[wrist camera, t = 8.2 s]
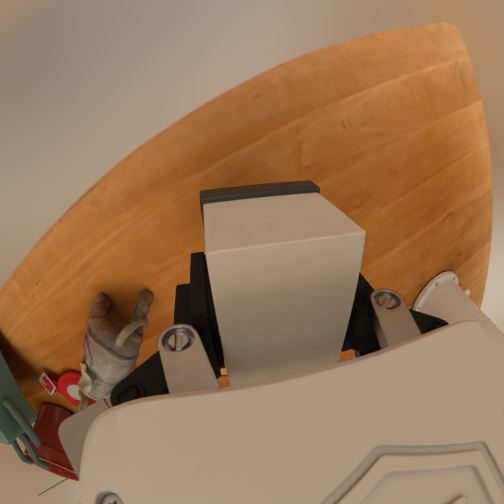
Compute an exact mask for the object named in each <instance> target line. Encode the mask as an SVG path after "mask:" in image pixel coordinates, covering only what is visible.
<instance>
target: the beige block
mask: <svg viewBox="0 0 504 504" xmlns="http://www.w3.org/2000/svg"><path fill="white" fill-rule="evenodd" d="M319 191H320V188H319V186H317V185H316V184H314V183H313V182H312V181H294V182H281V183H269V184H258V185H247V186H238V187H229V188H220V189H212V190H204V191H200V206H201V213H202V221H203V228H204V236H205V254H206V261H207V267H208V273H209V279H210V285H211V290H212V296H213V302H214V307H215V313H216V318H217V323H218V328H219V334H220V339H221V344H222V349H223V353H224V358H225V363H226V368H227V372H228V377H229V381H230V386H235V385H242V384H248V383H254V382H259V381H265V380H270V379H275V378H280V377H284V376H289V375H293V374H298V373H302V372H306V371H310V370H314V369H318V368H322V367H326V366H330V365H333V364H337V363H338V361H339V357H340V354H341V350H342V346H343V343H344V339H345V335H346V331H347V327H348V323H349V319H350V315H351V311H352V306H353V302H354V297H355V293H356V288H357V283H358V278H359V272H360V267H361V261H362V256H363V249H364V243H365V237H366V232H365V231H364V230H363V229H362V228H361V227H360V226H358V225H357V224H356V223H355V222H354V221H352V220H351V219H350V218H349V217H348V216H346V215H345V214H344V213H343V212H341V211H340V210H339V209H338V208H336V207H335V206H334V205H333V204H331V203H330V202H329V201H328V200H326V199H325V198H324V197H323V196H321V195H320V194H319Z"/></svg>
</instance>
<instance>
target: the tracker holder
mask: <svg viewBox="0 0 504 504" xmlns="http://www.w3.org/2000/svg"><path fill="white" fill-rule="evenodd" d="M81 376H82V373H81V372H77V371H68V372H65V373H63V374H62V375H61V377H60V378H59V377H57V376H55V375H52V374H50V373H45V372H43V374H42V376H41V377H40V379H39V381H40V382H41V384H42V385H43V386H44V388H45V389H46V390H47V391H48V393H49V394H50V395H52V394H53V392H56V391H57V392H59V393H61V394H62V395H63V396H64V397H65V398H67V399H68V400H69V401H70V402H72V403H73V404H75V405H76V406H79V403H80V400H81V399H80V396H79V394H78V390H79V387H78V382H79V380H80V379H81ZM49 390H50V391H51V392H50V391H49Z"/></svg>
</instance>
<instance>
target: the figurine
mask: <svg viewBox="0 0 504 504" xmlns="http://www.w3.org/2000/svg"><path fill="white" fill-rule="evenodd" d="M152 301H153V294H152V293H151V292H149V291H148V290H145V291H143V292H141V294H140V296H139V303H138V305H137V306H136V309H135V312H134V315H133V317H132V318H131V319H130V320H129V321H128V322H126V323H124V324H123V323H120V322H117V321H114V320H113V319H111V318H110V317H109V316H108V315H107V313H108V310H109V305H110V303H109V299H108V298H107V297H106V296H105V295H104V293H99V294H98V298H97V300H96V301H95V305H94V307H93V309H92V312H91V313H90V315H89V320H88V322H87V333H86V335H85V339H84V361H81V362H80V365H81V372H82V376H81V379H80V380H79V382H78V387H79V390H78V394H79V396H80V399H81V400H80V403H79V406H78V409H79V411H81V410H83V409H84V408H86V407H87V403H88V397H89V398H91V399H94V400H96V401H98V400H100V399H102V398H103V399H104V398H106V399H108V398H110V395H111V392H112V390H113V388H114V387H115V386H116V385H117V384H118V383H119V382H120V381H121V380H123V378H125V377H126V376H127V375H129V374H130V373H131V371H132V370H133V369H134V366H135V363H136V361H137V357H138V354H139V348H140V345H141V343H142V341H143V339H142V337H143V326H148V320H147V318H146V317H147V314H148V312H149V306H150V303H152Z"/></svg>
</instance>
